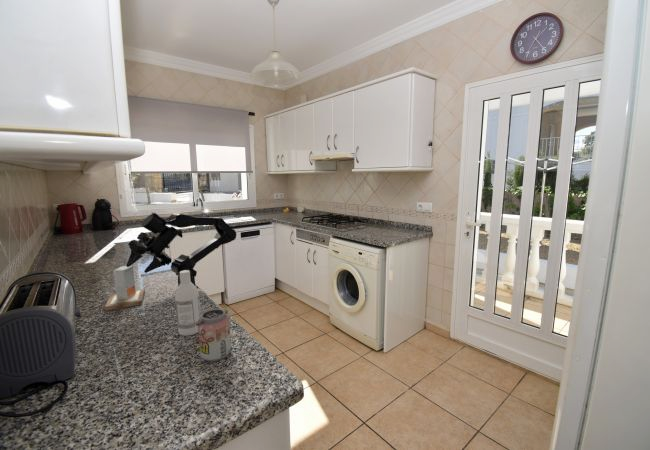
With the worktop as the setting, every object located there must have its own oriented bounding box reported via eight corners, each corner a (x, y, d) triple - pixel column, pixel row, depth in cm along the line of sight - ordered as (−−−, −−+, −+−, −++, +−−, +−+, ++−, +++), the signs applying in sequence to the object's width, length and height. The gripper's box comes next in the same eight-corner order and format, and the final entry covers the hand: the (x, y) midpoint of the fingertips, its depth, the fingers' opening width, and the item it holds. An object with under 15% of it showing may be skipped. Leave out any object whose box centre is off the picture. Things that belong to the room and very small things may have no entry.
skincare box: (127, 299, 119) (123, 270, 117) (116, 299, 119) (112, 270, 117) (136, 293, 125) (133, 265, 123) (126, 293, 125) (122, 265, 123)
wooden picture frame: (145, 292, 131) (144, 288, 131) (142, 304, 119) (141, 300, 118) (111, 297, 126) (111, 293, 125) (105, 310, 113) (104, 306, 113)
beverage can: (193, 353, 85) (189, 313, 83) (220, 341, 91) (217, 303, 89) (209, 367, 79) (205, 324, 77) (237, 352, 85) (234, 312, 83)
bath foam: (191, 323, 102) (185, 267, 99) (206, 327, 99) (201, 269, 96) (173, 333, 96) (167, 273, 92) (189, 338, 93) (183, 276, 90)
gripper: (168, 237, 136) (143, 264, 133) (136, 220, 119) (106, 251, 116) (182, 250, 131) (156, 279, 129) (150, 235, 115) (120, 267, 112)
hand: (136, 269), depth 121 cm, fingers open, 9 cm apart
